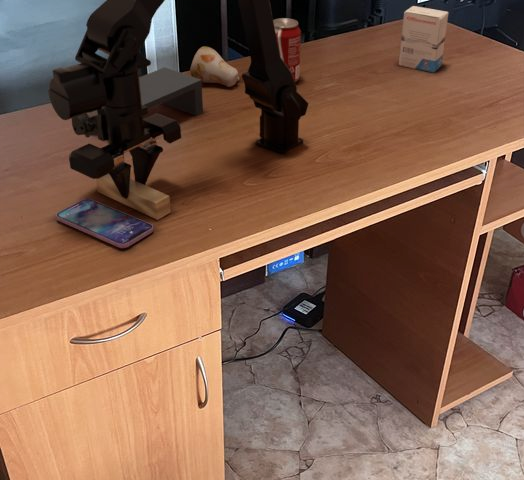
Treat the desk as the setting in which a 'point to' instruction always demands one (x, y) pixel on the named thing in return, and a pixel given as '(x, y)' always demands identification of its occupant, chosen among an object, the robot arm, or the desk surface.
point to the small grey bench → (172, 90)
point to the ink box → (423, 38)
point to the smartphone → (105, 223)
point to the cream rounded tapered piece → (212, 68)
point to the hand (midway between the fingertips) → (132, 193)
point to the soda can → (289, 43)
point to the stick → (137, 197)
